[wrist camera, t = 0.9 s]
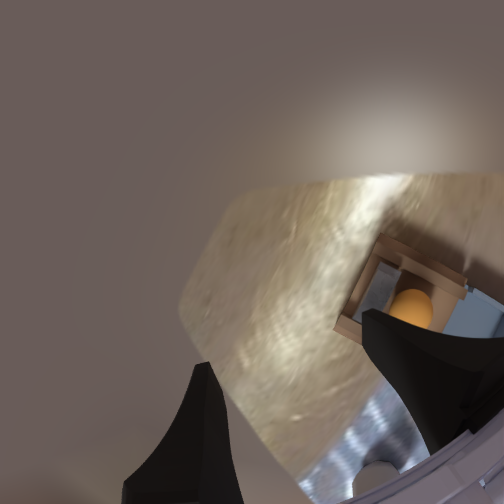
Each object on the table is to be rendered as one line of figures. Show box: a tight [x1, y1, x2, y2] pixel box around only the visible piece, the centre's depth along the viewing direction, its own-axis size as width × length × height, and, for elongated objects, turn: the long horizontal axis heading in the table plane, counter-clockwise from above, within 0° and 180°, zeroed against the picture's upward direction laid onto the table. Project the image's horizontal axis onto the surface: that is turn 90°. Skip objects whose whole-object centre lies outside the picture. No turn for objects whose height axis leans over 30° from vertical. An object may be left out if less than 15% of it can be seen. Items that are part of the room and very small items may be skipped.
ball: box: [389, 289, 433, 329], centre depth 21 cm, size 4×4×4 cm
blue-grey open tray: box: [442, 284, 504, 338], centre depth 20 cm, size 7×9×3 cm
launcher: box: [333, 233, 468, 345], centre depth 23 cm, size 10×10×4 cm
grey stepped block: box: [352, 262, 402, 324], centre depth 21 cm, size 2×5×5 cm, turn 154°
